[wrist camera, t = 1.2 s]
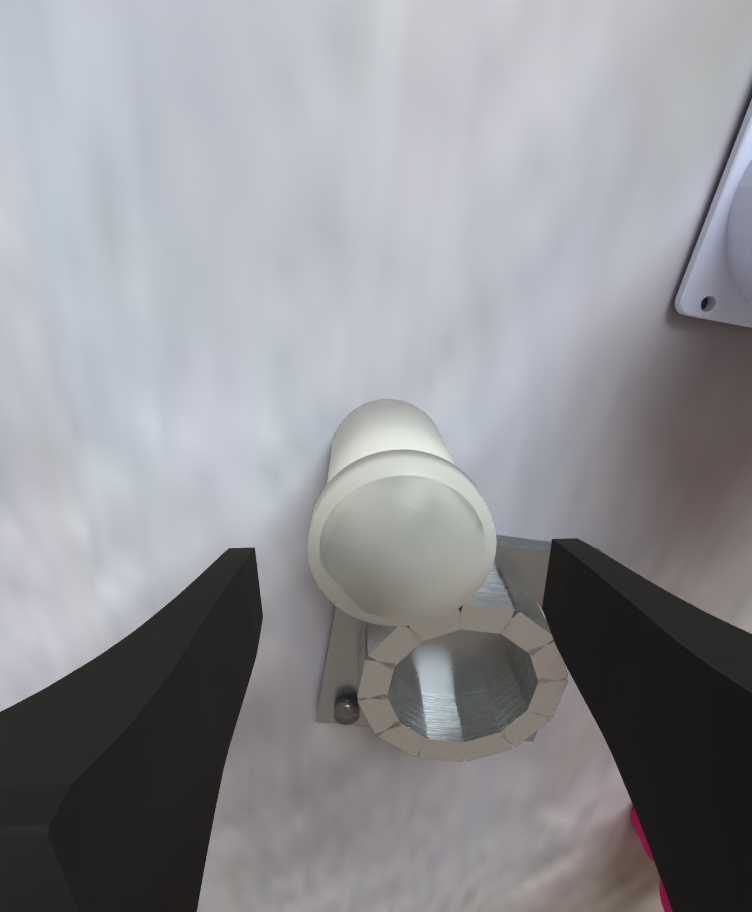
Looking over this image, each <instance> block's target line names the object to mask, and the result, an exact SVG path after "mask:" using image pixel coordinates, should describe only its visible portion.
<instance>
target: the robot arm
mask: <svg viewBox="0 0 752 912" xmlns="http://www.w3.org/2000/svg"><path fill="white" fill-rule="evenodd" d="M706 297H707V298H708V305H707V306H706V308H704V309H703V310H702V309H701V302H702V301H703V299H704V298H706ZM675 309H676V310H677V312H678V313H680V314H682V315H686V316H691V317H697V318H702V319H707V320H713V321H718V322H724V323H729V324H734V325H740V326H745V327H750V328H752V100H751V102H750V105H749V107H748V110H747V113H746V115H745V118H744V120H743V123H742V126H741V128H740V131H739V134H738V136H737V139H736V141H735V144H734V147H733V149H732V152H731V155H730V157H729V160H728V162H727V165H726V168H725V170H724V173H723V175H722V178H721V181H720V183H719V186H718V189H717V191H716V194H715V196H714V199H713V202H712V204H711V207H710V210H709V212H708V215H707V217H706V220H705V223H704V225H703V228H702V230H701V233H700V236H699V238H698V241H697V244H696V246H695V249H694V251H693V254H692V257H691V259H690V262H689V265H688V267H687V270H686V272H685V275H684V278H683V280H682V283H681V285H680V288H679V291H678V293H677V296H676V299H675ZM542 609H543V612H544V615H545V618H546V621H547V623H548V626H549V629H550V632H551V634H552V637H553V639H554V642H555V645H556V647H557V649H558V651H559V653H560V655H561V657H562V658H563V660H564V662H565V664H566V666H567V668H568V670H569V672H570V674H571V676H572V678H573V679H574V681H575V683H576V685H577V687H578V689H579V691H580V693H581V694H582V696H583V698H584V700H585V702H586V704H587V706H588V707H589V709H590V711H591V713H592V715H593V717H594V719H595V721H596V722H597V724H598V726H599V728H600V730H601V732H602V734H603V736H604V738H605V740H606V742H607V744H608V746H609V748H610V751H611V753H612V755H613V757H614V760H615V762H616V765H617V767H618V769H619V772H620V774H621V777H622V779H623V782H624V784H625V786H626V789H627V791H628V794H629V796H630V798H631V801H632V804H633V806H634V809H635V811H636V814H637V816H638V819H639V822H640V824H641V827H642V829H643V832H644V834H645V837H646V840H647V842H648V845H649V847H650V850H651V853H652V855H653V858H654V861H655V864H656V866H657V869H658V872H659V875H660V878H661V880H662V883H663V886H664V889H665V891H666V894H667V897H668V900H669V903H670V905H671V908H672V911H673V912H752V634H750V633H748V632H746V631H744V630H742V629H740V628H737V627H735V626H733V625H731V624H729V623H727V622H725V621H722V620H720V619H718V618H716V617H714V616H712V615H710V614H708V613H706V612H704V611H702V610H700V609H698V608H696V607H695V606H693V605H691V604H689V603H687V602H685V601H684V600H682V599H680V598H678V597H676V596H674V595H672V594H671V593H669V592H667V591H665V590H664V589H662V588H660V587H658V586H657V585H655V584H653V583H652V582H650V581H648V580H646V579H645V578H643V577H641V576H640V575H638V574H636V573H635V572H633V571H632V570H630V569H628V568H627V567H625V566H623V565H622V564H620V563H618V562H617V561H615V560H614V559H612V558H610V557H609V556H607V555H605V554H604V553H602V552H600V551H599V550H597V549H595V548H594V547H592V546H590V545H588V544H587V543H585V542H583V541H581V540H579V539H552V543H551V550H550V556H549V563H548V570H547V577H546V583H545V590H544V597H543V604H542ZM262 619H263V614H262V605H261V597H260V588H259V580H258V572H257V563H256V555H255V548H229V549H228V550H227V551H226V552H224V553H223V554H222V555H221V556H220V557H219V558H218V559H217V560H216V561H215V562H214V563H213V564H212V565H211V566H210V567H208V568H207V569H206V570H205V571H204V572H203V573H202V574H201V575H200V576H199V577H198V578H197V579H196V580H195V581H193V582H192V583H191V584H190V585H189V586H188V587H187V588H186V589H185V590H184V591H182V592H181V593H180V594H179V595H178V596H177V597H176V598H175V599H173V600H172V601H171V602H170V603H168V604H167V605H166V606H165V607H164V608H162V609H161V610H160V611H159V612H158V613H156V614H155V615H154V616H153V617H152V618H150V619H149V620H148V621H147V622H145V623H144V624H143V625H142V626H140V627H139V628H138V629H136V630H135V631H134V632H132V633H131V634H130V635H128V636H127V637H126V638H124V639H123V640H121V641H120V642H118V643H117V644H116V645H114V646H113V647H111V648H110V649H108V650H107V651H105V652H104V653H102V654H101V655H99V656H98V657H96V658H95V659H93V660H92V661H90V662H88V663H87V664H85V665H83V666H82V667H80V668H78V669H77V670H75V671H73V672H72V673H70V674H68V675H67V676H65V677H63V678H62V679H60V680H58V681H57V682H55V683H53V684H52V685H50V686H48V687H47V688H45V689H43V690H41V691H40V692H38V693H36V694H34V695H32V696H30V697H28V698H26V699H25V700H23V701H21V702H19V703H17V704H15V705H13V706H11V707H9V708H7V709H5V710H3V711H1V712H0V912H197V907H198V901H199V895H200V889H201V884H202V878H203V872H204V867H205V861H206V856H207V851H208V845H209V840H210V834H211V829H212V824H213V818H214V813H215V808H216V803H217V798H218V793H219V788H220V783H221V778H222V773H223V769H224V765H225V761H226V757H227V753H228V749H229V746H230V742H231V739H232V736H233V732H234V729H235V726H236V723H237V719H238V716H239V713H240V709H241V706H242V703H243V699H244V696H245V693H246V689H247V686H248V683H249V679H250V676H251V673H252V669H253V666H254V662H255V659H256V655H257V649H258V644H259V638H260V632H261V625H262Z"/></svg>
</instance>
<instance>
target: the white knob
mask: <svg viewBox="0 0 752 912" xmlns="http://www.w3.org/2000/svg"><path fill="white" fill-rule="evenodd" d="M496 544H497V540H496V530H495V526H494V521H493V519H492V516H491V514H490V511H489V509H488V507H487V505H486V504H485V502H484V500H483V498H482V496H481V494H480V492H479V491H478V489H477V487H476V485H475V484H474V483H473V481H472V480H471V479H470V478H469V477H468V476H467V475H466V474H465V473H464V472H463V471H462V470H461V469H460V468H458V467H457V466H455V465H454V463H453V461H452V458H451V456H450V454H449V452H448V450H447V448H446V446H445V444H444V441H443V439H442V437H441V435H440V433H439V431H438V429H437V427H436V425H435V424H434V422H433V421H432V419H431V418H430V417H429V416H428V415H427V414H426V413H425V412H424V411H422V410H421V409H419V408H418V407H416V406H414V405H412V404H410V403H407V402H404V401H400V400H392V399H384V400H377V401H372V402H369V403H366V404H364V405H362V406H360V407H358V408H357V409H355V410H354V411H352V412H351V413H350V414H349V415H348V416H347V417H346V418H345V419H344V420H343V421H342V422H341V424H340V425H339V427H338V429H337V431H336V433H335V436H334V438H333V443H332V449H331V457H330V464H329V472H328V479H327V485H326V486H325V488H324V489H323V490H322V492H321V494H320V496H319V497H318V499H317V502H316V504H315V507H314V510H313V514H312V519H311V524H310V530H309V535H308V545H307V553H308V562H309V566H310V570H311V573H312V575H313V577H314V580H315V582H316V583H317V585H318V587H319V588H320V590H321V591H322V592H323V594H324V595H325V596H326V597H327V598H328V599H329V600H330V601H331V602H332V603H333V604H334V605H335V606H337V607H338V608H339V609H341V610H342V611H344V612H345V613H347V614H349V615H351V616H353V617H355V618H357V619H360V620H362V621H365V622H369V623H373V624H377V625H383V626H396V627H399V626H412V625H419V624H423V623H427V622H431V621H434V620H436V619H439V618H442V617H444V616H446V615H448V614H450V613H452V612H453V611H455V610H456V609H458V608H459V607H461V606H462V605H464V604H465V603H466V602H467V601H468V600H470V599H471V598H472V597H473V596H474V595H475V593H476V592H477V591H478V590H479V589H480V587H481V586H482V585H483V583H484V582H485V580H486V578H487V577H488V575H489V573H490V570H491V568H492V565H493V563H494V558H495V554H496Z"/></svg>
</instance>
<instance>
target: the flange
mask: <svg viewBox="0 0 752 912" xmlns="http://www.w3.org/2000/svg"><path fill="white" fill-rule="evenodd" d="M496 540H497V544H496V554H495V558H494V563H493V565H492V568H491V570H490V573H489V575H488V577H487V578H486V580H485V582H484V583H483V585H482V586H481V587H480V589H479V590H478V591H477V592H476V593H475V595H474V596H473V597H472V598H471V599H470V600H468V601H467V602H466V603H465V604H464V605H462V606H461V607H459V608H458V609H456V610H455V611H453V612H452V613H450V614H448V615H446V616H444V617H442V618H439V619H436V620H434V621H431V622H427V623H423V624H419V625H412V626H399V627H396V626H383V625H377V624H373V623H369V622H365V621H362V620H360V619H357V618H355V617H353V616H351V615H349V614H347V613H345V612H344V611H342V610H341V609H339V608H338V607H337V606H335V610H334V615H333V621H332V627H331V633H330V638H329V644H328V650H327V656H326V662H325V667H324V673H323V679H322V685H321V690H320V696H319V702H318V708H317V719H316V722H326V723H337V724H343V725H359V726H370V727H372V729H373V731H374V733H375V734H376V733H378V737H379V738H381V739H383V740H384V741H386V742H388V743H390V744H392V745H393V746H395V747H397V748H399V749H401V750H402V751H404V752H406V753H408V754H410V755H411V756H415V755H416V754H417V753H418V758H424V759H435V760H447V761H459V762H463V759H464V756H466V758H467V760H468V761H471V760H474V759H478V758H481V757H485V756H488V755H492V754H495V753H499V752H502V751H506V750H509V749H511V746H510V743H511V744H513V745H515V746H518V745H519V744H520V743H521V742H523V741H533V740H534V737H535V735H536V733H537V730H538V729H539V728H541V727H542V726H543V725H544V724H546V723H547V722H548V721H550V719H549V717H548V716H553V715H554V713H555V711H556V708H557V706H558V703H559V701H560V699H561V696H562V694H563V692H564V689H565V687H566V684H567V682H568V680H567V678H566V677H568V674H567V671H566V667H565V662H564V660H563V658H562V657H561V655H560V653H559V651H558V649H557V647H556V645H555V642H554V639H553V637H552V634H551V632H550V629H549V626H548V623H547V621H546V618H545V615H544V612H543V609H542V604H543V597H544V590H545V583H546V577H547V570H548V563H549V556H550V550H551V542H543V541H536V540H528V539H521V538H513V537H506V536H498V535H496ZM595 549H596V548H595ZM597 550H599V549H597ZM599 551H600V550H599ZM600 552H601V551H600Z"/></svg>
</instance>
